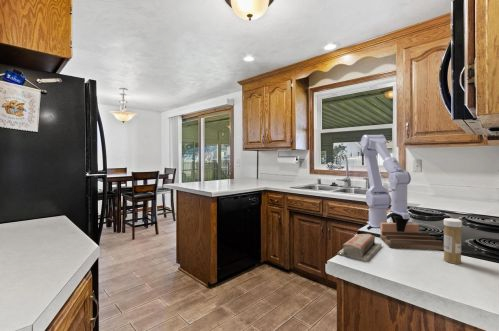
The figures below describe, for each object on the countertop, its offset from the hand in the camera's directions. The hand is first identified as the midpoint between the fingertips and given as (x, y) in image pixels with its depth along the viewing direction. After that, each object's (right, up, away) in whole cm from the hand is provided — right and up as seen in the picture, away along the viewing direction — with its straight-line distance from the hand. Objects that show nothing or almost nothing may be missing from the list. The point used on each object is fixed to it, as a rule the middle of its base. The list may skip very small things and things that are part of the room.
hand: (399, 231), depth 108 cm
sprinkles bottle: (+1, -3, -27) cm, 27 cm away
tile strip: (0, -2, 0) cm, 2 cm away
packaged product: (-23, -3, -16) cm, 28 cm away
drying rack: (-2, -2, -10) cm, 11 cm away
